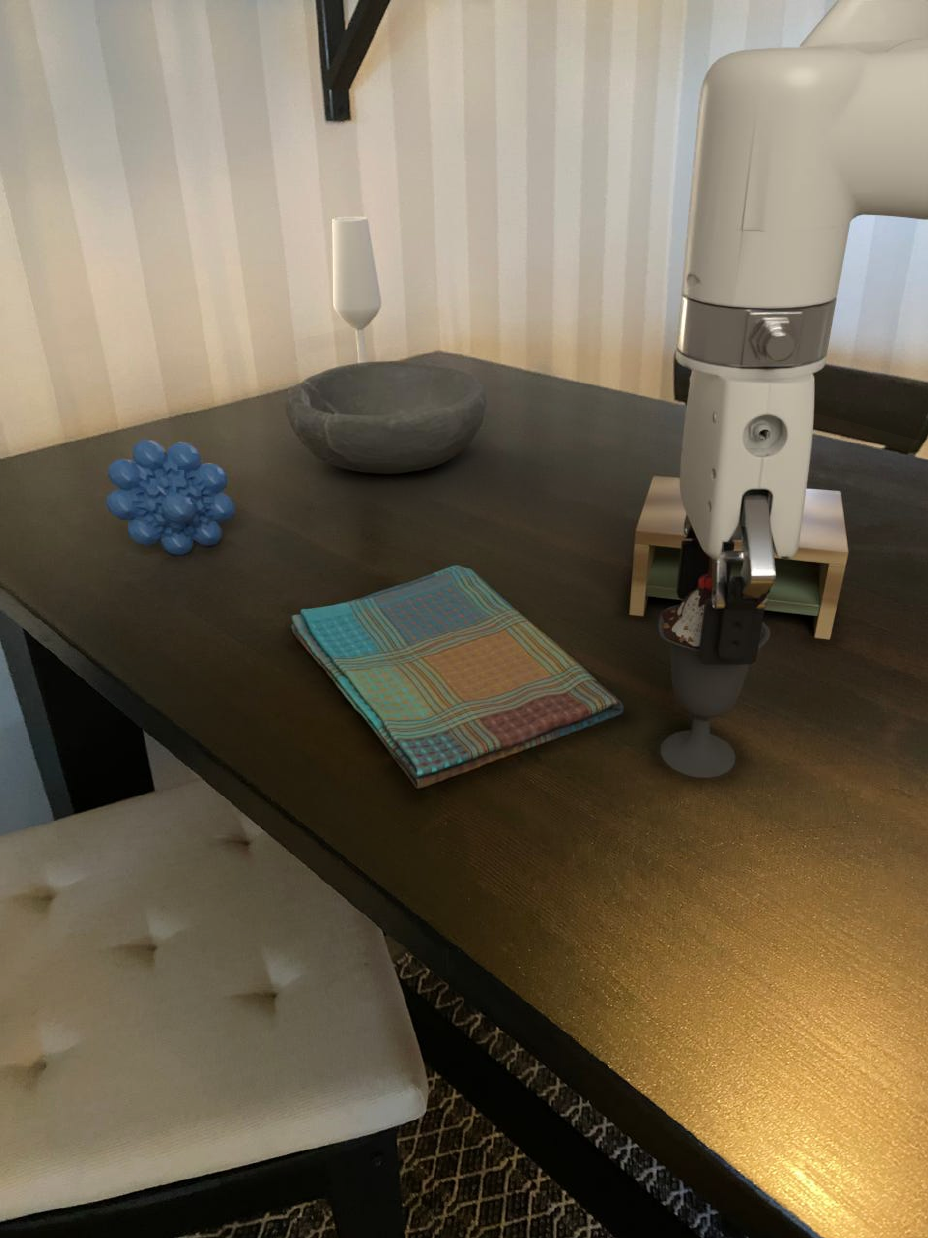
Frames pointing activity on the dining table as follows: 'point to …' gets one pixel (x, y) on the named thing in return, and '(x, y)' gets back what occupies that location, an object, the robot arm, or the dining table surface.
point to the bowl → (386, 415)
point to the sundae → (699, 687)
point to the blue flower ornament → (170, 496)
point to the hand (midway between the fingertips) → (713, 625)
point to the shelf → (799, 580)
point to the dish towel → (451, 674)
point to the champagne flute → (354, 276)
